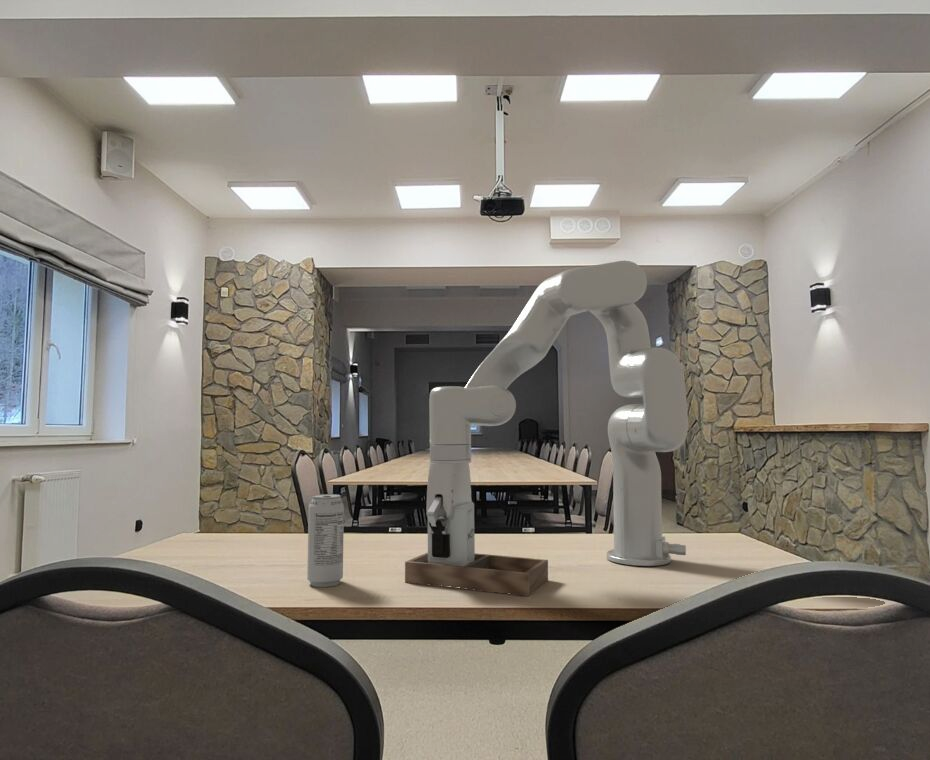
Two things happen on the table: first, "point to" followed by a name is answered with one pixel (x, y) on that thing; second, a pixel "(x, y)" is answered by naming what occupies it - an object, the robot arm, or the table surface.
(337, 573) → the energy drink can
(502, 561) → the frame
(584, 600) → the table surface
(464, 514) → the supplement box
